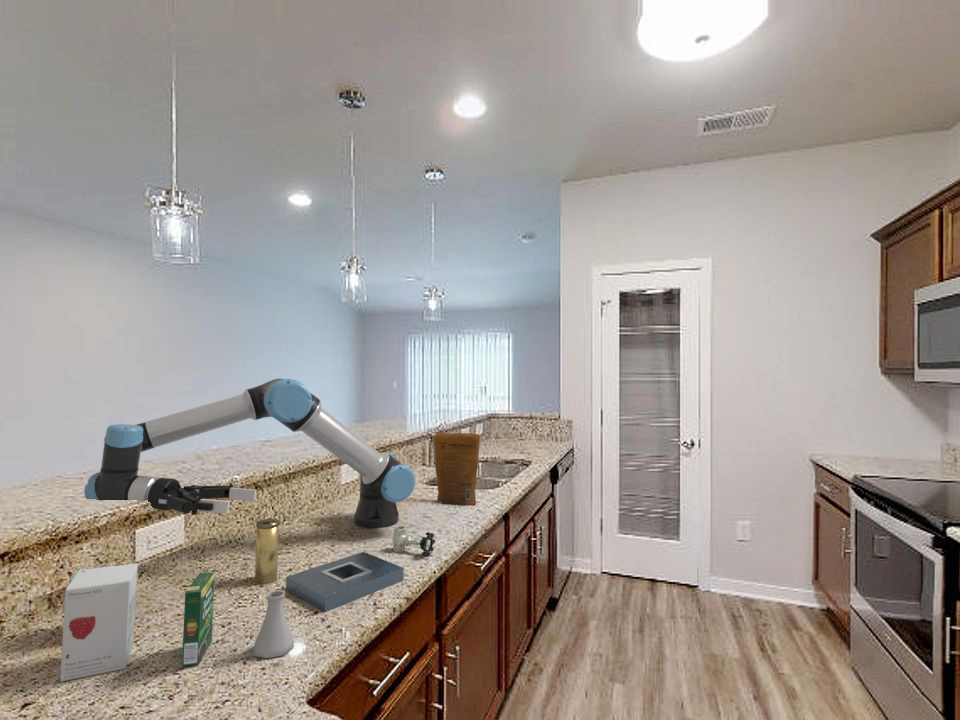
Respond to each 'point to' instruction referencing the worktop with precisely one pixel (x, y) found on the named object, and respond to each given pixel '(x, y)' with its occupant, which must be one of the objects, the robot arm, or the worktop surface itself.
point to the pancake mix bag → (456, 467)
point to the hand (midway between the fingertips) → (242, 501)
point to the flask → (274, 629)
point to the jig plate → (343, 580)
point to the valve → (411, 541)
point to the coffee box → (198, 619)
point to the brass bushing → (266, 551)
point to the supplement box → (98, 621)
